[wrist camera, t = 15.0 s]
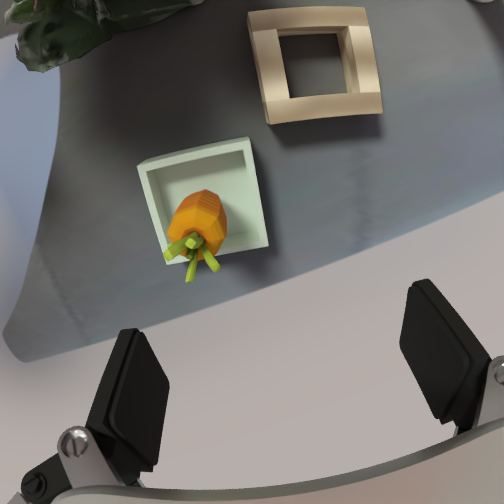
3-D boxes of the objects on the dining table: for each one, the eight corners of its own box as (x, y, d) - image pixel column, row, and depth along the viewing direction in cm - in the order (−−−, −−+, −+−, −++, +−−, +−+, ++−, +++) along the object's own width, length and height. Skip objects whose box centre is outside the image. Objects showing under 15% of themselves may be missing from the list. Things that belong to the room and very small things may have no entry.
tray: (147, 159, 33) (136, 165, 29) (247, 136, 32) (249, 140, 29) (172, 249, 38) (166, 264, 34) (265, 231, 38) (268, 246, 34)
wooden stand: (246, 21, 26) (248, 11, 23) (351, 15, 26) (364, 7, 22) (266, 122, 32) (270, 124, 28) (367, 111, 31) (382, 113, 28)
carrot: (239, 198, 34) (239, 265, 21) (206, 225, 36) (188, 304, 22) (209, 165, 32) (187, 213, 19) (177, 194, 34) (138, 259, 21)
